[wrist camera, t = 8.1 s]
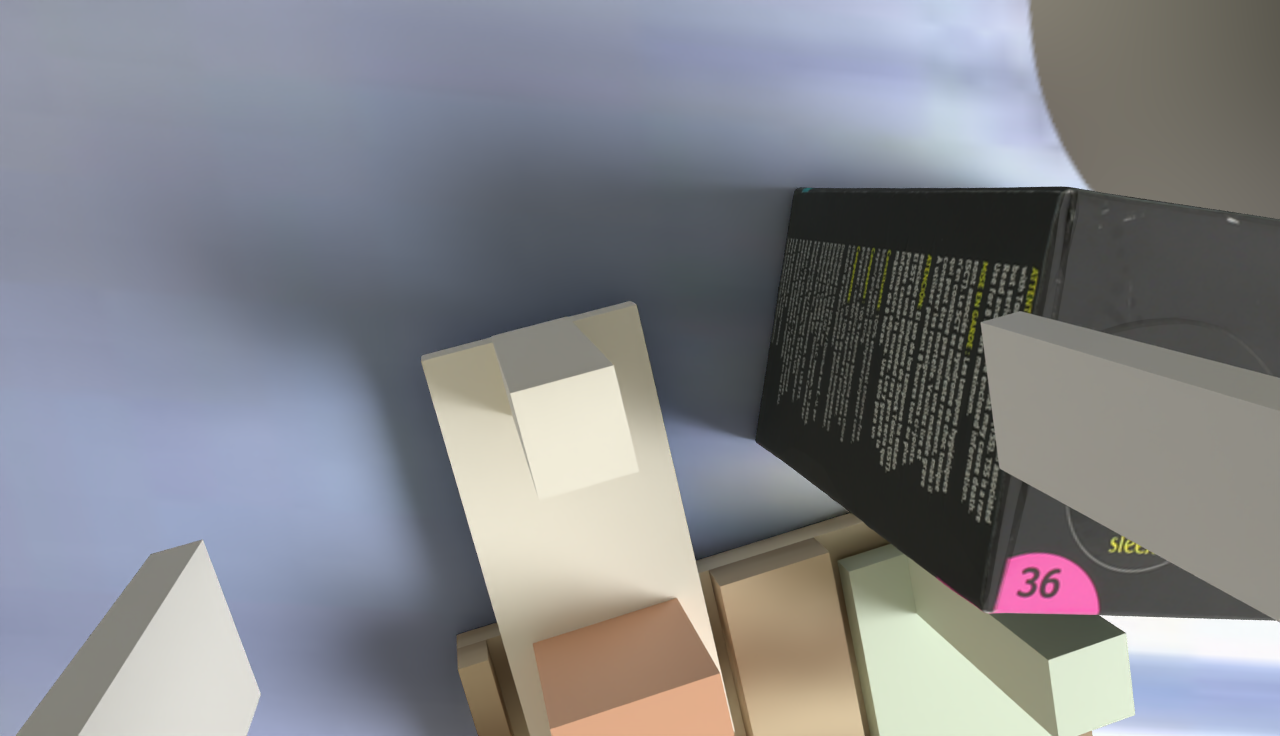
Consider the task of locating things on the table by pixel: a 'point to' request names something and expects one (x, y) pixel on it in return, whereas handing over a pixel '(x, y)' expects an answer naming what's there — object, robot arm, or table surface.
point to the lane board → (741, 639)
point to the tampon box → (957, 375)
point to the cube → (633, 678)
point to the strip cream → (565, 482)
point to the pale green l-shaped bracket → (975, 659)
